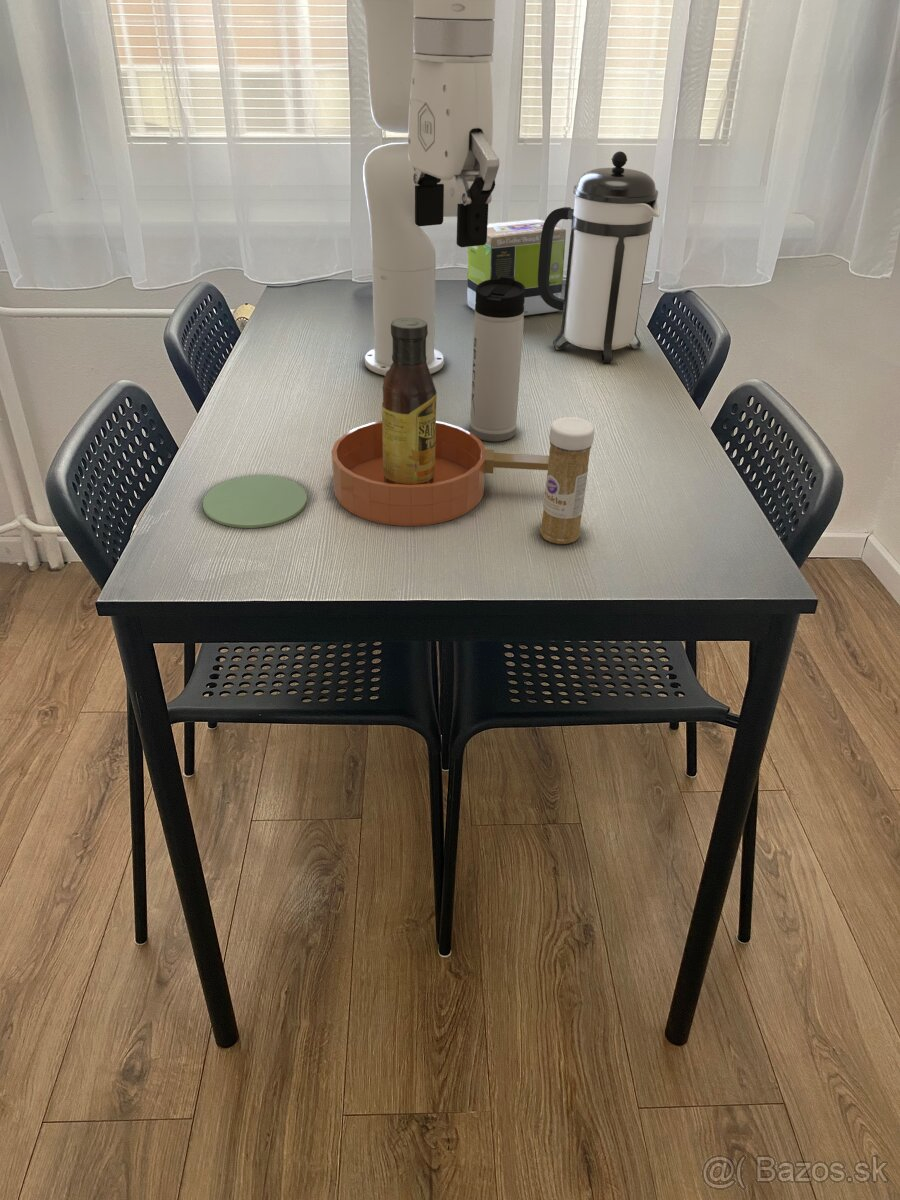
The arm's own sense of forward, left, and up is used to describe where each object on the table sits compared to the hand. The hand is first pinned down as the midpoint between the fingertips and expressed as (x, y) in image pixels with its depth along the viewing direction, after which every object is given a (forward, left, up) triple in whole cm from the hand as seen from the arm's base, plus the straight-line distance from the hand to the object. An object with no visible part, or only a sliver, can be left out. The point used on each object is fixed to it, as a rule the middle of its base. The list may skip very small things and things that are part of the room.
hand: (449, 234), depth 92 cm
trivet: (-4, -23, -29) cm, 37 cm away
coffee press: (-33, +43, -29) cm, 62 cm away
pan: (0, -5, -29) cm, 29 cm away
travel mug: (-10, +12, -29) cm, 33 cm away
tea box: (-56, +41, -29) cm, 75 cm away
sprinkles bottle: (+17, +6, -29) cm, 34 cm away
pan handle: (+8, +8, -26) cm, 28 cm away
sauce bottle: (0, -5, -29) cm, 29 cm away
